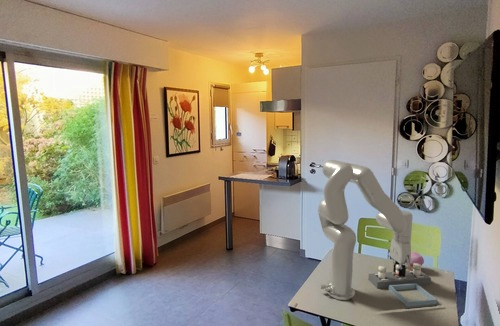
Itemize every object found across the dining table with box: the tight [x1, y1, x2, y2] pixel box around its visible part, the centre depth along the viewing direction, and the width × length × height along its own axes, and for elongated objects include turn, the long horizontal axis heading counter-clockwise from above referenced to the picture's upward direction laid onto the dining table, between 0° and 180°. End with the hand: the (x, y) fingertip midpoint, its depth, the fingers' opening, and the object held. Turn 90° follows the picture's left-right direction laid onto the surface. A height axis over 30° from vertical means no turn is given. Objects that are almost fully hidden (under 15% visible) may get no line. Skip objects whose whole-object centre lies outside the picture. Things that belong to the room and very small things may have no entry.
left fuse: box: [377, 265, 387, 280], centre depth 152 cm, size 3×3×8 cm
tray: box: [388, 283, 438, 310], centre depth 141 cm, size 14×14×3 cm
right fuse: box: [413, 263, 422, 277], centre depth 154 cm, size 3×3×8 cm
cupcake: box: [406, 251, 425, 271], centre depth 165 cm, size 9×9×10 cm
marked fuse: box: [395, 264, 404, 278], centre depth 153 cm, size 3×3×8 cm
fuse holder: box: [367, 270, 432, 289], centre depth 153 cm, size 27×8×4 cm, turn 98°
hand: (399, 273), depth 153 cm, fingers closed on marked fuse, 3 cm apart
